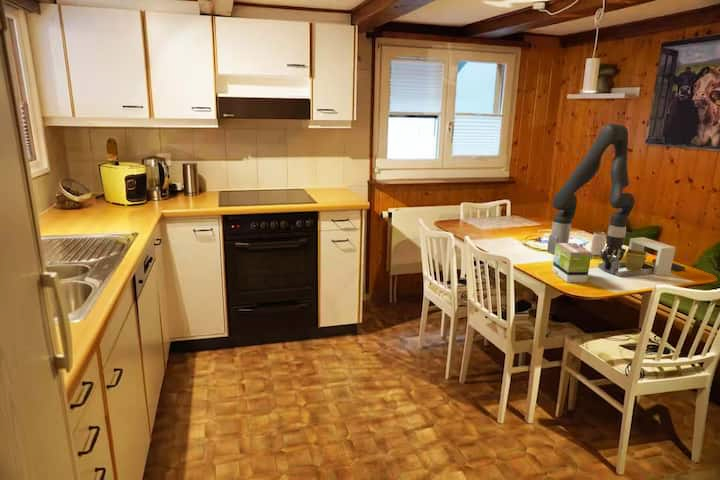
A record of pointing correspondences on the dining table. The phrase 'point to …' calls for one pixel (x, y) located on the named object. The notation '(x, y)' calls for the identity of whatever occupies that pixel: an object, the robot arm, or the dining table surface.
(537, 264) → the dining table surface
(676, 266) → the pit tray
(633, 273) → the sled
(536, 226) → the dining table surface
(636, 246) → the tunnel
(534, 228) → the dining table surface
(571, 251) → the tea box
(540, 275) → the dining table surface
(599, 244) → the can
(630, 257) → the flower pot
